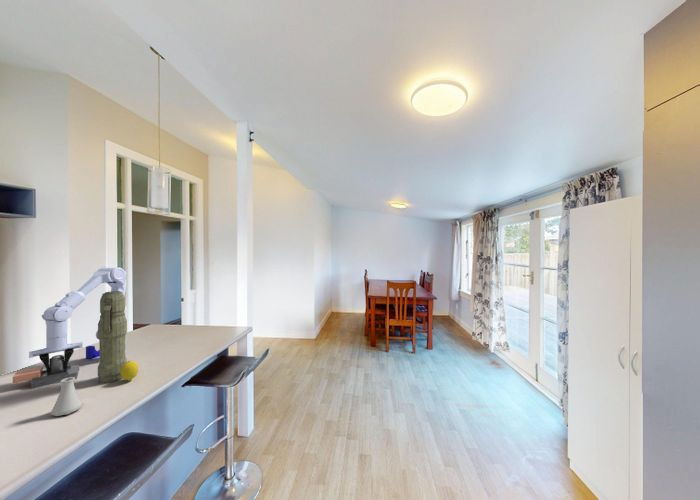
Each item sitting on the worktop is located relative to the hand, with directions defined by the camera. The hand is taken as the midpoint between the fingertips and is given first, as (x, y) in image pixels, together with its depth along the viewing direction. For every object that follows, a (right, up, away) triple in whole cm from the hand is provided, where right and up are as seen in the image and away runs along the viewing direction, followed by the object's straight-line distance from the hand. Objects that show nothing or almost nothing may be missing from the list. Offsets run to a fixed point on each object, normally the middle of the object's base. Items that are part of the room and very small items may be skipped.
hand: (56, 370), depth 109 cm
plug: (0, -2, 0) cm, 2 cm away
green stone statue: (+22, -4, 0) cm, 22 cm away
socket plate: (0, -3, 0) cm, 3 cm away
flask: (+26, -4, -21) cm, 34 cm away
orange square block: (-6, -1, -5) cm, 8 cm away
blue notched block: (-6, -4, +26) cm, 27 cm away
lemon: (+30, -4, -1) cm, 31 cm away
